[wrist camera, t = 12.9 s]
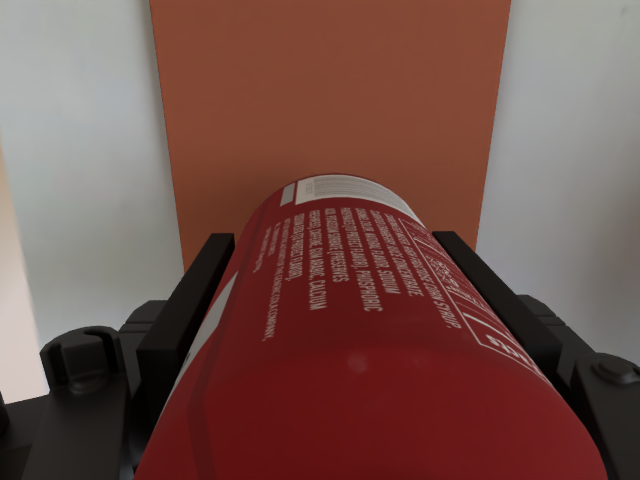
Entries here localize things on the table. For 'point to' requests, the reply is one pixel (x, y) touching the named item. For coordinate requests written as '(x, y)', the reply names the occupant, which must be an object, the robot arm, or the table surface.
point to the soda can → (357, 359)
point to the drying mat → (327, 103)
